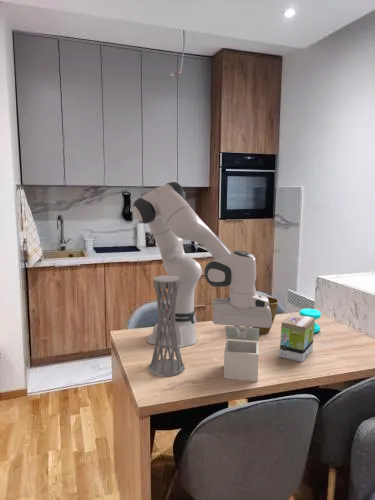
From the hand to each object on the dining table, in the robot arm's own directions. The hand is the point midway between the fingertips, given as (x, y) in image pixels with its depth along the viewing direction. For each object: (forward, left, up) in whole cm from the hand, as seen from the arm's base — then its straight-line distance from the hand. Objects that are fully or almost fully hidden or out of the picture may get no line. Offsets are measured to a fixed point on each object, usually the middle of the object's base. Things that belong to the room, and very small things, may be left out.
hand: (241, 337), depth 132 cm
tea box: (+22, +30, -17) cm, 40 cm away
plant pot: (+8, +54, -17) cm, 57 cm away
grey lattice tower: (-28, +6, -17) cm, 33 cm away
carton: (0, +8, -16) cm, 18 cm away
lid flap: (0, +9, -2) cm, 9 cm away
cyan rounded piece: (+31, +60, -17) cm, 69 cm away
